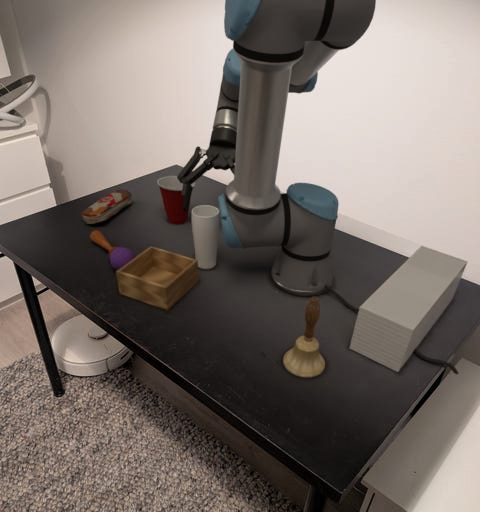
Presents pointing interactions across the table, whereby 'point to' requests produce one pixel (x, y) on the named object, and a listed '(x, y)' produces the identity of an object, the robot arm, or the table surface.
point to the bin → (158, 277)
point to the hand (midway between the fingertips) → (210, 213)
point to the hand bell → (306, 347)
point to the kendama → (113, 251)
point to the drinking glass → (205, 235)
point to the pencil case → (107, 207)
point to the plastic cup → (173, 199)
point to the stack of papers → (406, 307)
